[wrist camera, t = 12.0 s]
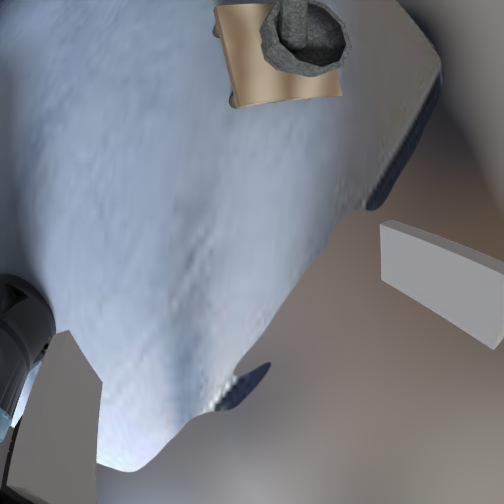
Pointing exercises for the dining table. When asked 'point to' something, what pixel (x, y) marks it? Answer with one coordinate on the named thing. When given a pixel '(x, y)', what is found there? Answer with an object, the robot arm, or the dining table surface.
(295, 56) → the mortar and pestle
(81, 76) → the dining table surface
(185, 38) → the dining table surface
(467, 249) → the robot arm
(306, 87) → the oak footstool
